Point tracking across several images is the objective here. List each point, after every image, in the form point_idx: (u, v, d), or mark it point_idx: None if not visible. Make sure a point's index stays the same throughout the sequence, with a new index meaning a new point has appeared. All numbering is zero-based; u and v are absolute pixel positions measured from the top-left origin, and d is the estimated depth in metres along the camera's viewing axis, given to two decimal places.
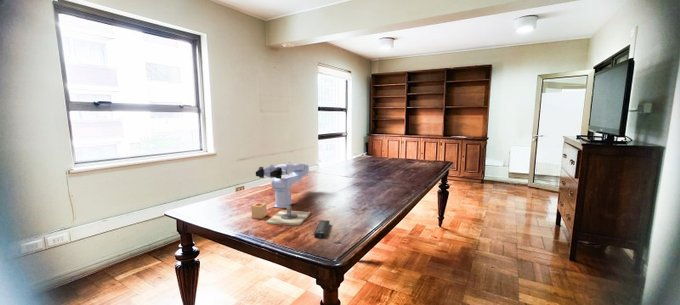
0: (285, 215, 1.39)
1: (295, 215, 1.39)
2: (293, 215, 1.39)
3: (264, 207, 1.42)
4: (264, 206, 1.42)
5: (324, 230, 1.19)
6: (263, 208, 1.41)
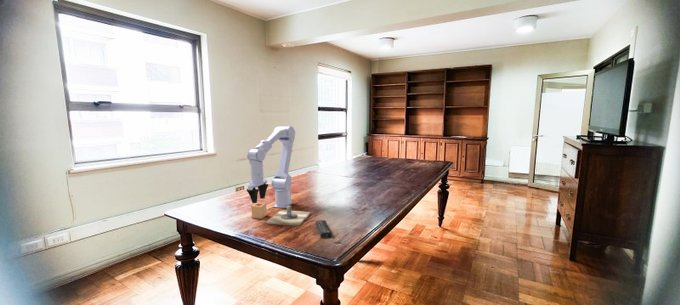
0: (285, 215, 1.39)
1: (295, 215, 1.39)
2: (293, 215, 1.39)
3: (264, 207, 1.42)
4: (264, 206, 1.42)
5: (328, 229, 1.19)
6: (263, 208, 1.41)
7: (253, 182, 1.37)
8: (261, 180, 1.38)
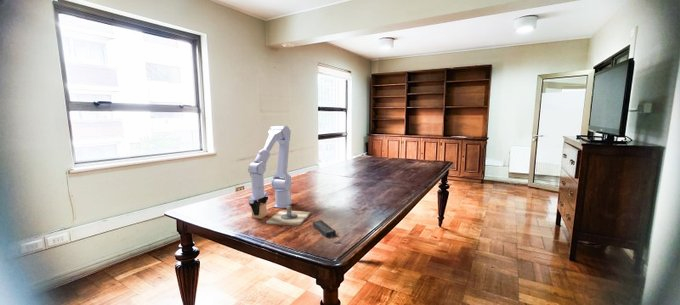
0: (285, 215, 1.39)
1: (295, 215, 1.39)
2: (293, 215, 1.39)
3: (264, 207, 1.42)
4: (264, 206, 1.41)
5: (331, 228, 1.20)
6: (263, 208, 1.41)
7: (254, 195, 1.38)
8: (262, 193, 1.39)
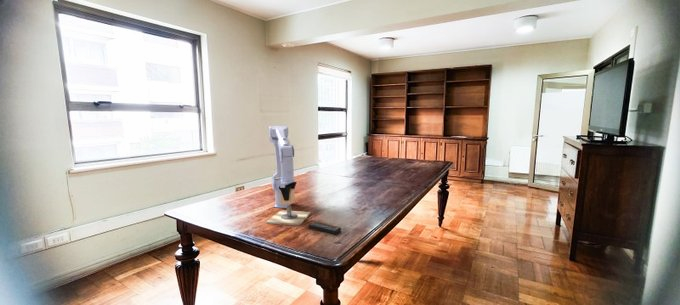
0: (285, 215, 1.39)
1: (295, 215, 1.39)
2: (293, 215, 1.39)
3: (293, 192, 1.37)
4: (293, 191, 1.37)
5: (334, 226, 1.23)
6: (292, 193, 1.36)
7: (284, 180, 1.33)
8: (292, 177, 1.34)
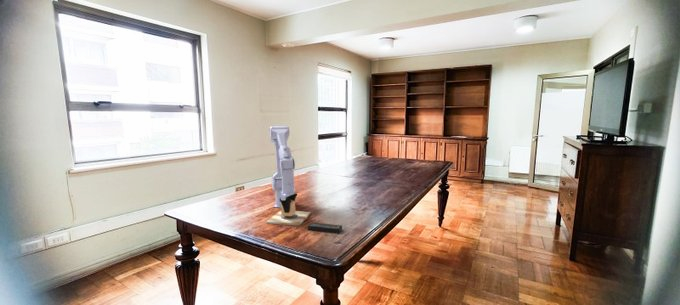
0: None
1: (295, 215, 1.39)
2: (293, 215, 1.39)
3: (293, 204, 1.38)
4: (293, 203, 1.38)
5: (335, 225, 1.24)
6: (293, 205, 1.37)
7: (284, 192, 1.34)
8: (292, 190, 1.35)
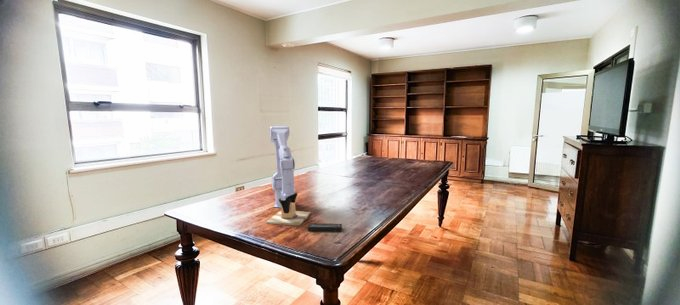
0: None
1: (295, 215, 1.39)
2: None
3: (293, 206, 1.38)
4: (293, 205, 1.38)
5: (334, 224, 1.25)
6: (293, 207, 1.37)
7: (284, 192, 1.34)
8: (292, 190, 1.35)
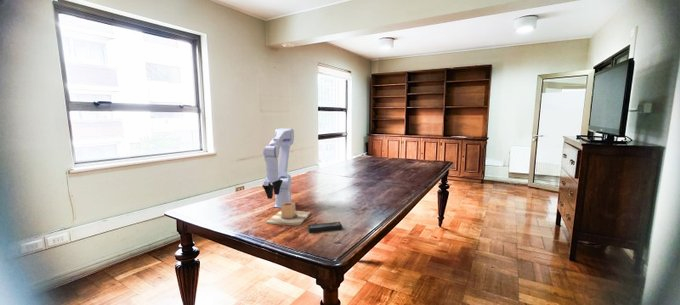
0: None
1: (295, 215, 1.39)
2: None
3: (293, 206, 1.38)
4: (293, 205, 1.38)
5: (333, 222, 1.27)
6: (293, 207, 1.37)
7: (268, 178, 1.40)
8: (276, 176, 1.40)
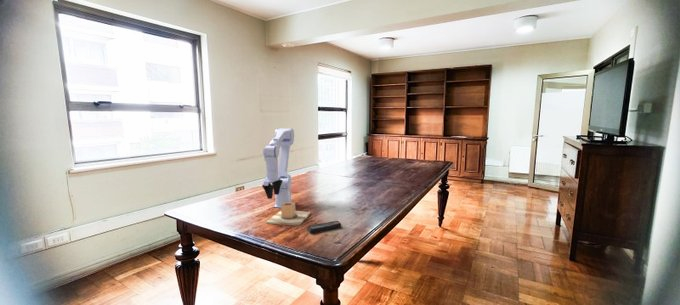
0: None
1: (295, 215, 1.39)
2: None
3: (293, 206, 1.38)
4: (293, 205, 1.38)
5: (331, 222, 1.28)
6: (293, 207, 1.37)
7: (268, 178, 1.40)
8: (276, 176, 1.40)
